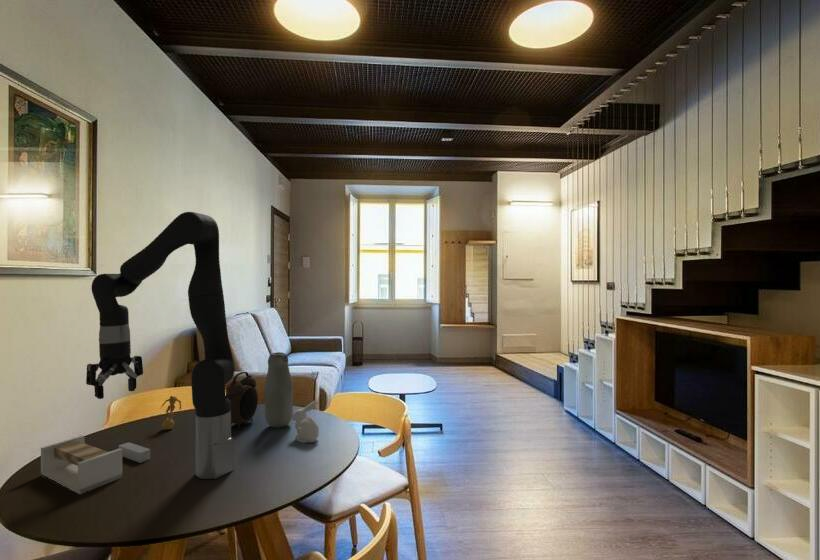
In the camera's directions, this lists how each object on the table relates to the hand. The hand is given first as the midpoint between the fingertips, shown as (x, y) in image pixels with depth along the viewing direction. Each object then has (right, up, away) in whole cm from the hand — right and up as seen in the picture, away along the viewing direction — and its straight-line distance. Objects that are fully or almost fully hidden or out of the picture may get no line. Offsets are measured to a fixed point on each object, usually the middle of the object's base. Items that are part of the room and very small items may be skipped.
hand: (116, 394), depth 120 cm
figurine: (-2, -22, +30) cm, 37 cm away
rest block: (+1, -21, +6) cm, 22 cm away
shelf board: (-5, -17, -6) cm, 18 cm away
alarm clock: (+23, -22, +34) cm, 47 cm away
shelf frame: (-5, -22, -6) cm, 23 cm away
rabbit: (+51, -22, +21) cm, 59 cm away
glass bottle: (+38, -22, +32) cm, 54 cm away
